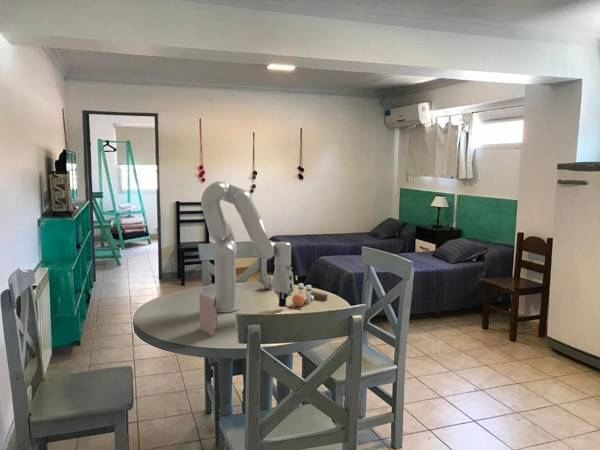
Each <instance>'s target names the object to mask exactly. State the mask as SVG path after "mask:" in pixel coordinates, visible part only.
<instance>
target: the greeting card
mask: <svg viewBox="0 0 600 450" xmlns="http://www.w3.org/2000/svg"><path fill="white" fill-rule="evenodd" d="M216 297H217V296H216V294H215V293H214V297H213V298H211V297H209V296H206V295H204V294H203V293H199V330H201V329H202V330H201V331H203V330H204V331H206V332H208V333H210V334H212V335H214V336H215V334H214V333H216V330H217V322H218V321H217V320H218V312H217V309H216ZM215 329H216V330H215ZM204 331H203V332H204ZM206 332H205V333H206ZM208 333H207V334H208ZM210 334H209V335H210ZM212 335H211V336H212Z"/></svg>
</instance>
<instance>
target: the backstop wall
mask: <svg viewBox="0 0 600 450" xmlns="http://www.w3.org/2000/svg"><path fill="white" fill-rule="evenodd" d="M311 295H313V296H314V299H315V300H319V301H324V302H326V301H328V294H327V293H323V292H317V291H313V290H311Z"/></svg>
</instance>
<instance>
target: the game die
mask: <svg viewBox="0 0 600 450" xmlns="http://www.w3.org/2000/svg"><path fill="white" fill-rule="evenodd" d="M273 274H274V273H272V274H271V275H265V274H263V278H262V281H261V285H262V286H263V288H264V290H267V289H273Z"/></svg>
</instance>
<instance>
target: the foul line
mask: <svg viewBox="0 0 600 450" xmlns="http://www.w3.org/2000/svg"><path fill="white" fill-rule="evenodd" d="M277 306H279V303H278V305H277ZM285 307H286V308H290V309H294V310H299V311H301V310H302V309H301V308H297V307H293V306H290V305H286V306H285Z"/></svg>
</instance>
